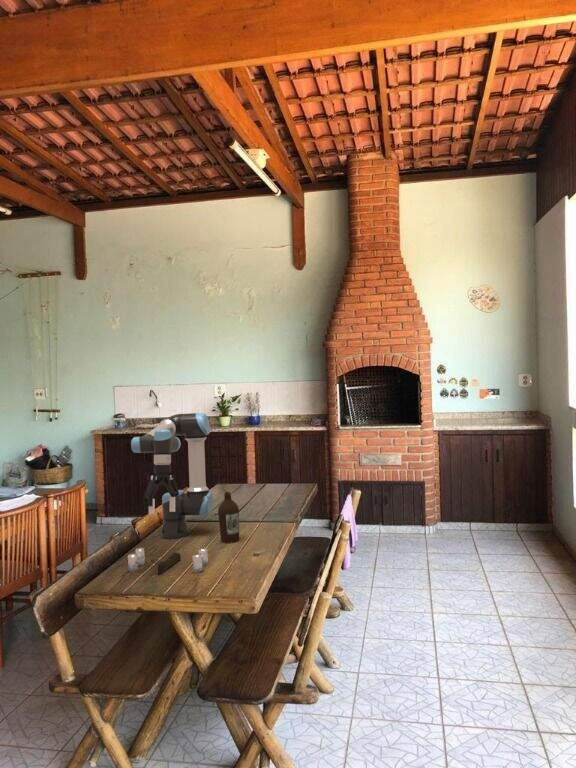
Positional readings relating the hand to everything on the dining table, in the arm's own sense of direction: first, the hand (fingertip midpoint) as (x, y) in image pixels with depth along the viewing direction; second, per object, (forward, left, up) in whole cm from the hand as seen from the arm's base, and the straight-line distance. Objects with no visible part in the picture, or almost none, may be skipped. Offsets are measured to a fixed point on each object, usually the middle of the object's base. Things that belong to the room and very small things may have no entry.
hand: (162, 512), depth 254 cm
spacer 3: (+2, +16, -25) cm, 30 cm away
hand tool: (-2, +1, -26) cm, 26 cm away
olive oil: (-41, +19, -25) cm, 52 cm away
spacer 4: (-6, +16, -25) cm, 30 cm away
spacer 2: (-6, -14, -25) cm, 30 cm away
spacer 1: (+2, -14, -25) cm, 29 cm away
